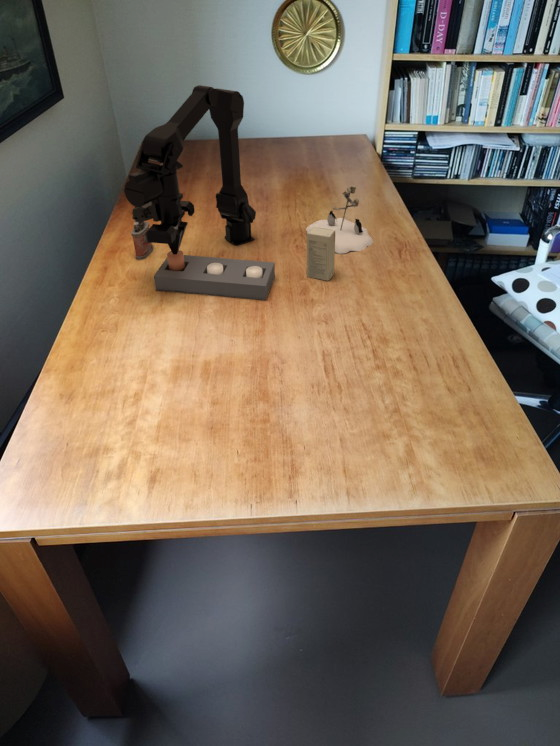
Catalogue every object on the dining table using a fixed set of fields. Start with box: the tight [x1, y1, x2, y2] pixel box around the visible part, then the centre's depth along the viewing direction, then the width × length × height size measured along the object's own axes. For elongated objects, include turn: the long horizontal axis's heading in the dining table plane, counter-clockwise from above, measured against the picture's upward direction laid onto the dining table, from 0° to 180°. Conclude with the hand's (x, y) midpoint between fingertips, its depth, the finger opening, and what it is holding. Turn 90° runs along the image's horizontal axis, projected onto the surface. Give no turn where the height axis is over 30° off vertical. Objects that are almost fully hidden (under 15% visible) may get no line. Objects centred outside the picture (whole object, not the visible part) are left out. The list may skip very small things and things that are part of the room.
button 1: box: [207, 263, 224, 275], centre depth 138 cm, size 4×4×4 cm
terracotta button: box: [166, 249, 185, 271], centre depth 138 cm, size 4×4×4 cm
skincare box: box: [306, 227, 336, 282], centre depth 139 cm, size 6×4×12 cm
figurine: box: [305, 184, 374, 255], centre depth 154 cm, size 20×18×16 cm
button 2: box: [246, 266, 263, 278], centre depth 137 cm, size 4×4×4 cm
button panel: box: [153, 254, 276, 301], centre depth 138 cm, size 28×12×4 cm, turn 80°
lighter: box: [130, 220, 154, 261], centre depth 150 cm, size 8×3×10 cm, turn 168°
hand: (175, 253), depth 136 cm, fingers closed, pressing on terracotta button
